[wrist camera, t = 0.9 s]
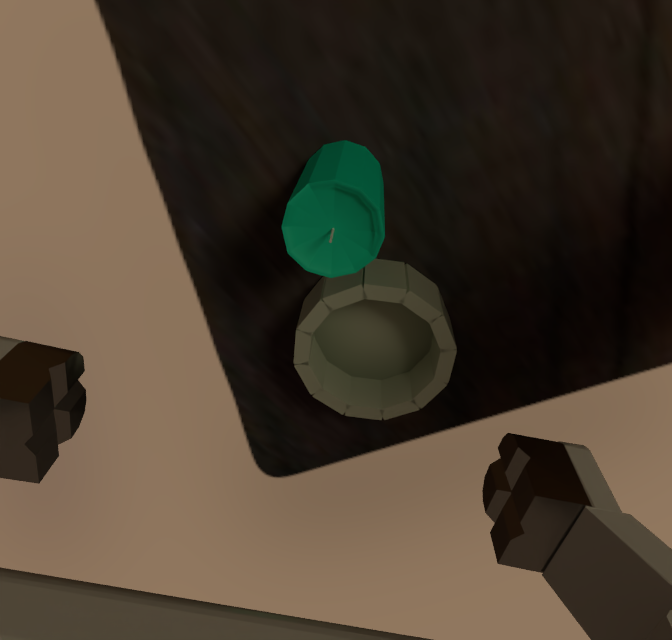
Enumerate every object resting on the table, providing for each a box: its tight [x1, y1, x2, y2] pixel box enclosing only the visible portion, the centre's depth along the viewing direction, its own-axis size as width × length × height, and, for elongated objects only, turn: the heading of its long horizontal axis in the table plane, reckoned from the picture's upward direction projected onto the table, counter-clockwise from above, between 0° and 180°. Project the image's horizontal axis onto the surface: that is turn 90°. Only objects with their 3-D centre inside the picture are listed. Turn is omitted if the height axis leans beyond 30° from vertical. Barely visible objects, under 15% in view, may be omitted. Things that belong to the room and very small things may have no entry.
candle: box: [281, 140, 385, 278], centre depth 34 cm, size 6×6×12 cm
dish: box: [294, 259, 457, 420], centre depth 43 cm, size 12×12×5 cm
